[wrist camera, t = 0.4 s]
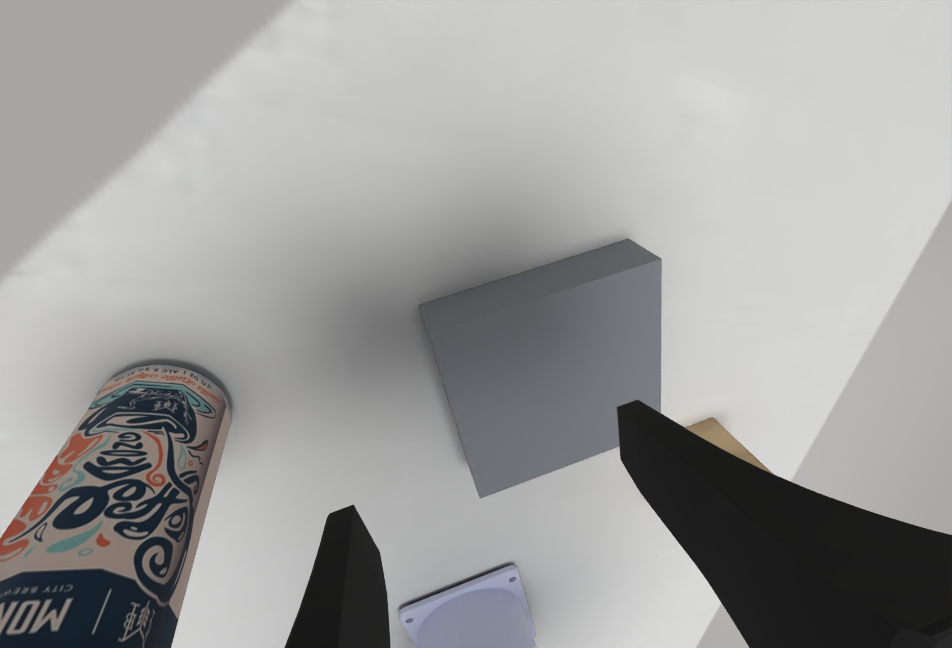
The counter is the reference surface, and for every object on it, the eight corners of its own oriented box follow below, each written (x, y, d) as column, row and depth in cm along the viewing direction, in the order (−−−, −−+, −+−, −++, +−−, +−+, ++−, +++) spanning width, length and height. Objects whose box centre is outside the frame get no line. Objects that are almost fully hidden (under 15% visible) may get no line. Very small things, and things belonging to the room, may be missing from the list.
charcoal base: (629, 396, 27) (660, 430, 25) (465, 455, 26) (479, 498, 24) (623, 235, 22) (661, 258, 20) (416, 300, 21) (428, 334, 18)
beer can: (238, 364, 20) (143, 694, 9) (229, 453, 21) (141, 805, 11) (96, 350, 18) (-206, 737, 8) (100, 448, 20) (-140, 861, 10)
